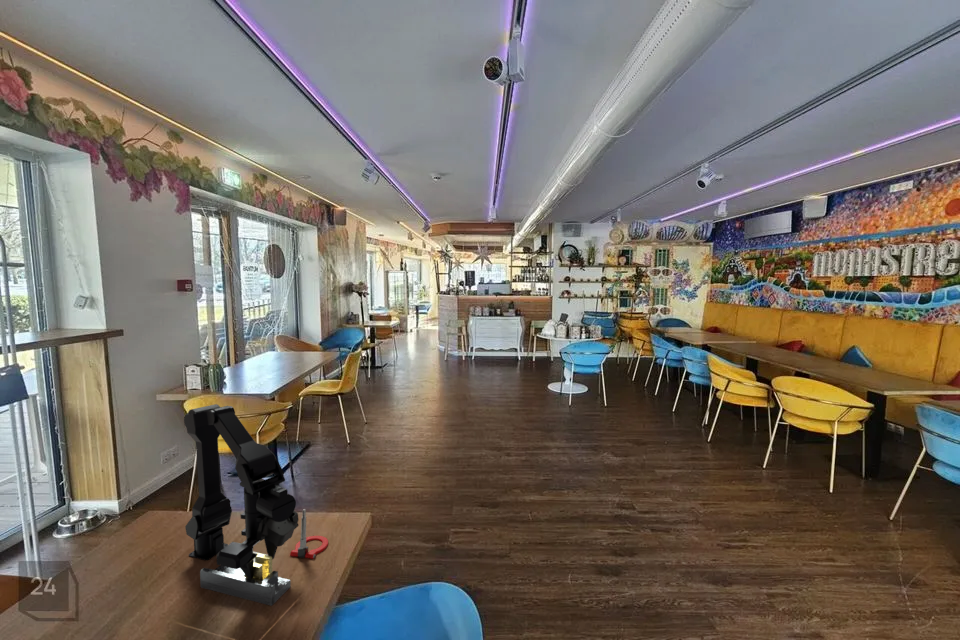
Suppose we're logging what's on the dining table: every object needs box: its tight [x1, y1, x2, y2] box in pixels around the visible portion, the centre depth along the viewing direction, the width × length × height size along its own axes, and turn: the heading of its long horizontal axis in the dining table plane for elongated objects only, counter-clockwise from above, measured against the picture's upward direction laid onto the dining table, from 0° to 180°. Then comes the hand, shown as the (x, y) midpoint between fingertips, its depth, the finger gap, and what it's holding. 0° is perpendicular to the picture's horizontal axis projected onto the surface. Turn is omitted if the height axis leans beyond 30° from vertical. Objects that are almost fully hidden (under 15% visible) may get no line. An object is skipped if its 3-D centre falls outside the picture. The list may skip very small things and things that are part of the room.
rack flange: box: [199, 565, 292, 607], centre depth 95 cm, size 20×6×4 cm, turn 76°
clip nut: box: [245, 552, 273, 581], centre depth 94 cm, size 4×4×5 cm
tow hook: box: [289, 508, 329, 560], centre depth 110 cm, size 8×13×9 cm
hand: (261, 568), depth 95 cm, fingers open, 6 cm apart
